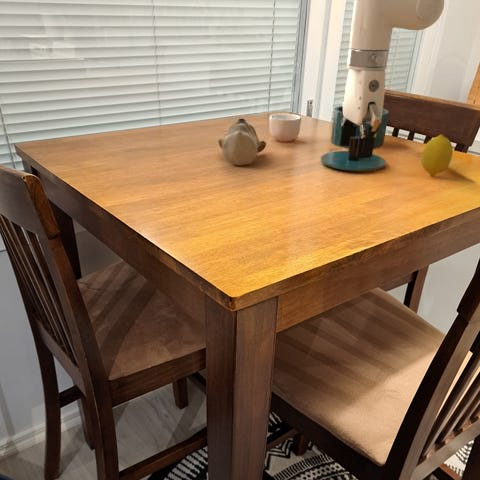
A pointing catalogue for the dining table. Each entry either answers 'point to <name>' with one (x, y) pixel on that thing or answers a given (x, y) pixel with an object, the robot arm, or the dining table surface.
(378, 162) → the lid
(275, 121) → the teacup
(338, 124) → the pot
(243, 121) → the ceramic sculpture
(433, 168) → the lemon
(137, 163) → the dining table surface
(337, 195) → the dining table surface
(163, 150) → the dining table surface
